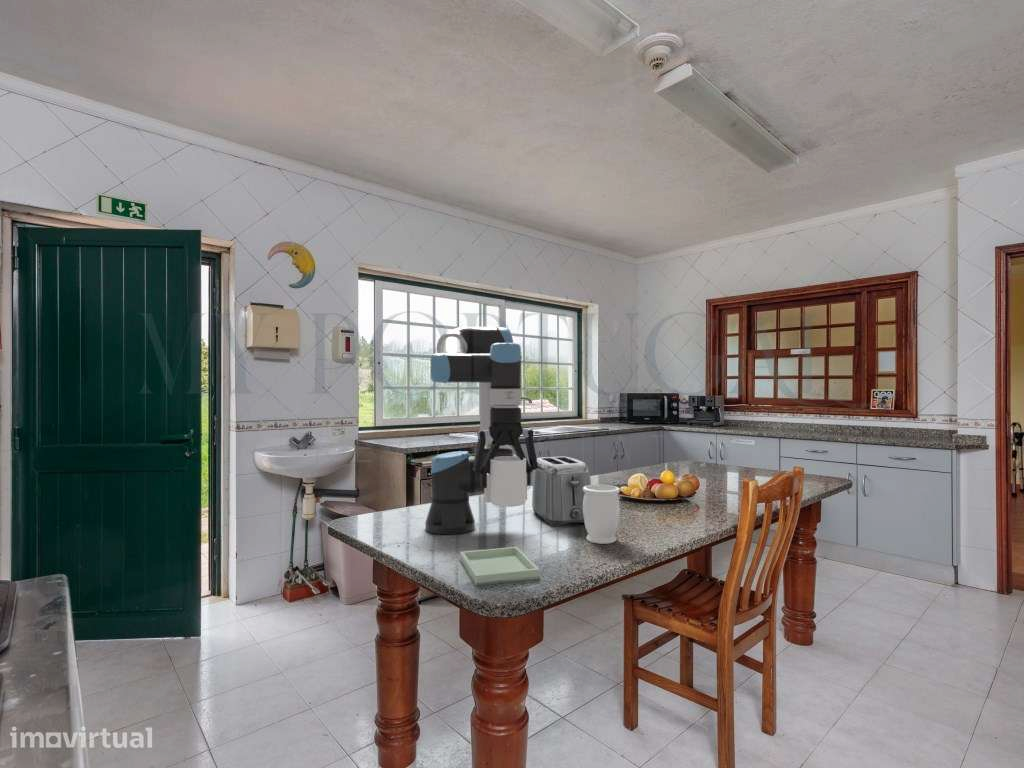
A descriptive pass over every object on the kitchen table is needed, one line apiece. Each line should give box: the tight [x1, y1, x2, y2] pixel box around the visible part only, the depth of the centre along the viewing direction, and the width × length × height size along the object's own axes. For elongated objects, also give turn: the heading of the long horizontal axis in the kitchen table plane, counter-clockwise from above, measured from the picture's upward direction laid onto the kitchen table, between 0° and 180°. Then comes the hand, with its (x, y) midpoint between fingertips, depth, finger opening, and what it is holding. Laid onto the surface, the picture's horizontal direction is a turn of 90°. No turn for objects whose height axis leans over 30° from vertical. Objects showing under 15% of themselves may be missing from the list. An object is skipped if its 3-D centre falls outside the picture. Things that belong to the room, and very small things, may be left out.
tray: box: [459, 546, 541, 587], centre depth 130 cm, size 18×15×2 cm
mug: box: [490, 456, 527, 508], centre depth 131 cm, size 9×12×11 cm
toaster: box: [531, 455, 592, 527], centre depth 182 cm, size 17×30×19 cm, turn 14°
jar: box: [583, 484, 621, 545], centre depth 155 cm, size 11×10×15 cm
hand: (505, 499), depth 132 cm, fingers closed on mug, 9 cm apart
